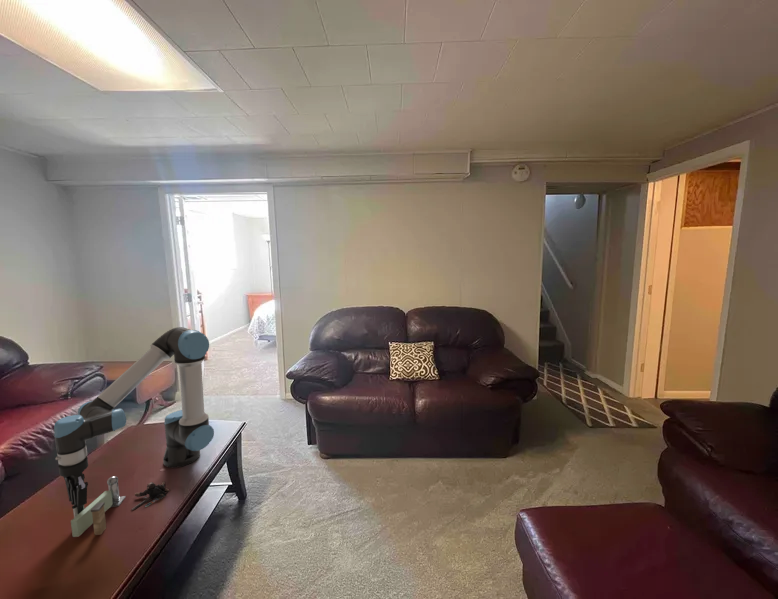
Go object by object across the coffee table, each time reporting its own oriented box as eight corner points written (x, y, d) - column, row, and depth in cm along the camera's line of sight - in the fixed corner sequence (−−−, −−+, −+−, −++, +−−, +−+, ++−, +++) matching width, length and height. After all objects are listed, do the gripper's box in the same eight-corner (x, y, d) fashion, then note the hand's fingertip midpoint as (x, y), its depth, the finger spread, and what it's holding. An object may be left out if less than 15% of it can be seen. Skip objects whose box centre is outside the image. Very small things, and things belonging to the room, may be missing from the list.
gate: (107, 504, 132) (105, 490, 131) (112, 504, 132) (110, 490, 131) (72, 536, 117) (70, 520, 117) (78, 536, 117) (76, 520, 117)
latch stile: (107, 527, 123) (104, 502, 122) (101, 534, 120) (98, 509, 118) (99, 528, 122) (96, 503, 121) (93, 535, 119) (90, 510, 118)
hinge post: (125, 497, 138) (123, 472, 136) (118, 506, 133) (116, 480, 131) (111, 499, 137) (108, 473, 135) (104, 508, 132) (101, 481, 130)
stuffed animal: (174, 480, 147) (164, 480, 137) (170, 506, 143) (160, 508, 132) (143, 484, 144) (130, 484, 134) (138, 511, 140) (124, 513, 130)
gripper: (51, 460, 120) (59, 520, 123) (67, 472, 114) (74, 535, 117) (78, 449, 126) (85, 507, 129) (94, 460, 120) (101, 520, 123)
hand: (80, 520), depth 123 cm, fingers closed
